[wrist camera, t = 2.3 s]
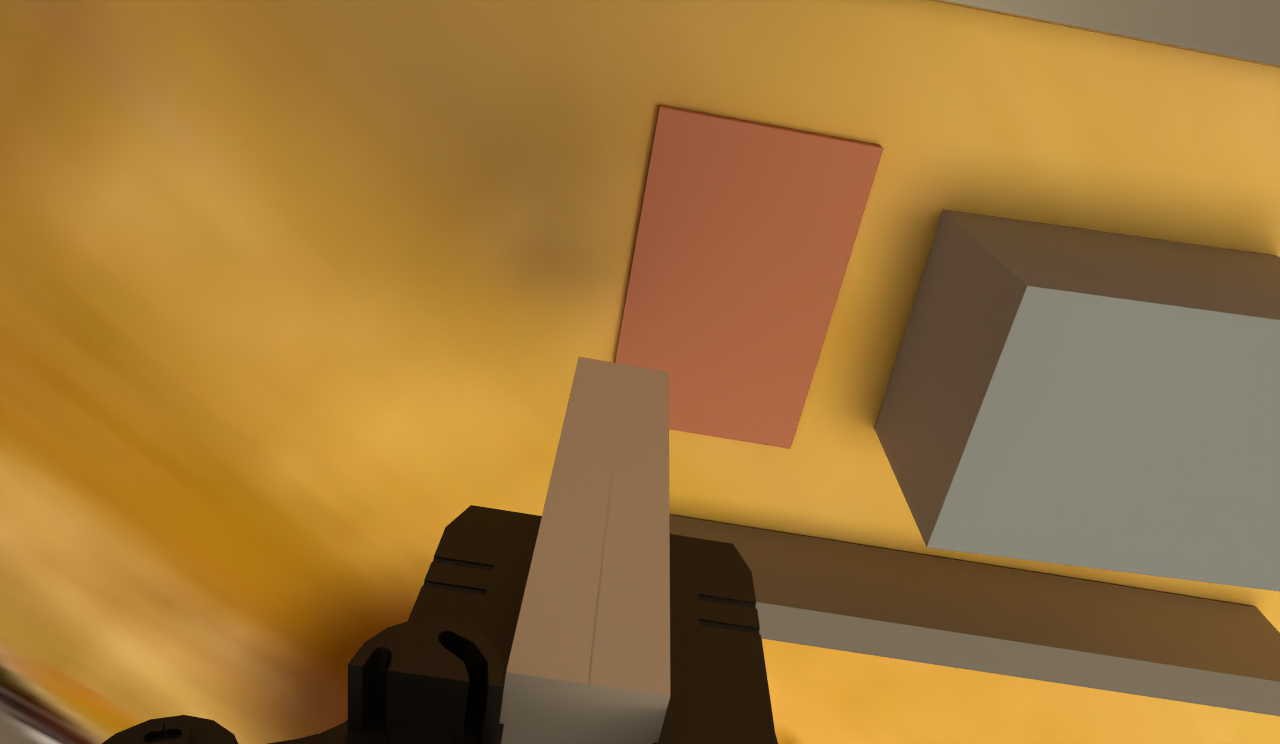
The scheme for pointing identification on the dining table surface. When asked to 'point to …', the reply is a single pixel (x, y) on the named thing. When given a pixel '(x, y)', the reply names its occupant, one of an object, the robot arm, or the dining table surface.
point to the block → (1092, 401)
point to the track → (785, 363)
